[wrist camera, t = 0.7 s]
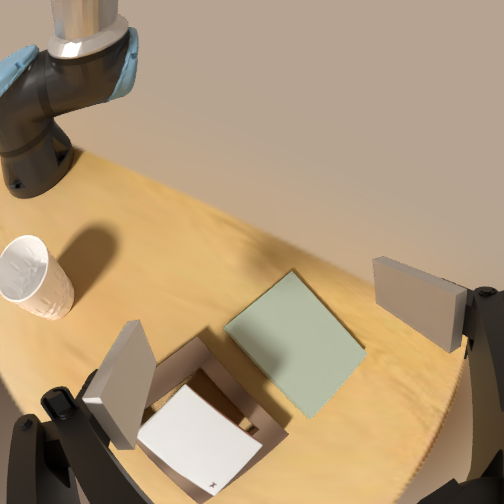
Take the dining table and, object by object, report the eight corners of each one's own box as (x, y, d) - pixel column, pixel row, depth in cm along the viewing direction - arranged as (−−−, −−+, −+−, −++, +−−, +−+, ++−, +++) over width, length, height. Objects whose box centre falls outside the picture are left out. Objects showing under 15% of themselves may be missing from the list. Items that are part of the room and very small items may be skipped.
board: (223, 328, 35) (224, 326, 33) (288, 275, 40) (291, 270, 39) (306, 417, 31) (311, 418, 30) (361, 355, 36) (367, 353, 35)
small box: (239, 425, 29) (266, 445, 18) (205, 460, 26) (214, 499, 15) (187, 383, 31) (185, 381, 19) (153, 418, 28) (131, 435, 16)
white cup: (47, 262, 33) (16, 226, 24) (87, 282, 33) (60, 247, 24) (25, 310, 29) (-14, 284, 20) (65, 334, 29) (28, 314, 21)
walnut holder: (110, 403, 27) (104, 404, 25) (196, 339, 33) (197, 335, 31) (199, 497, 24) (200, 505, 21) (282, 431, 30) (289, 434, 28)
